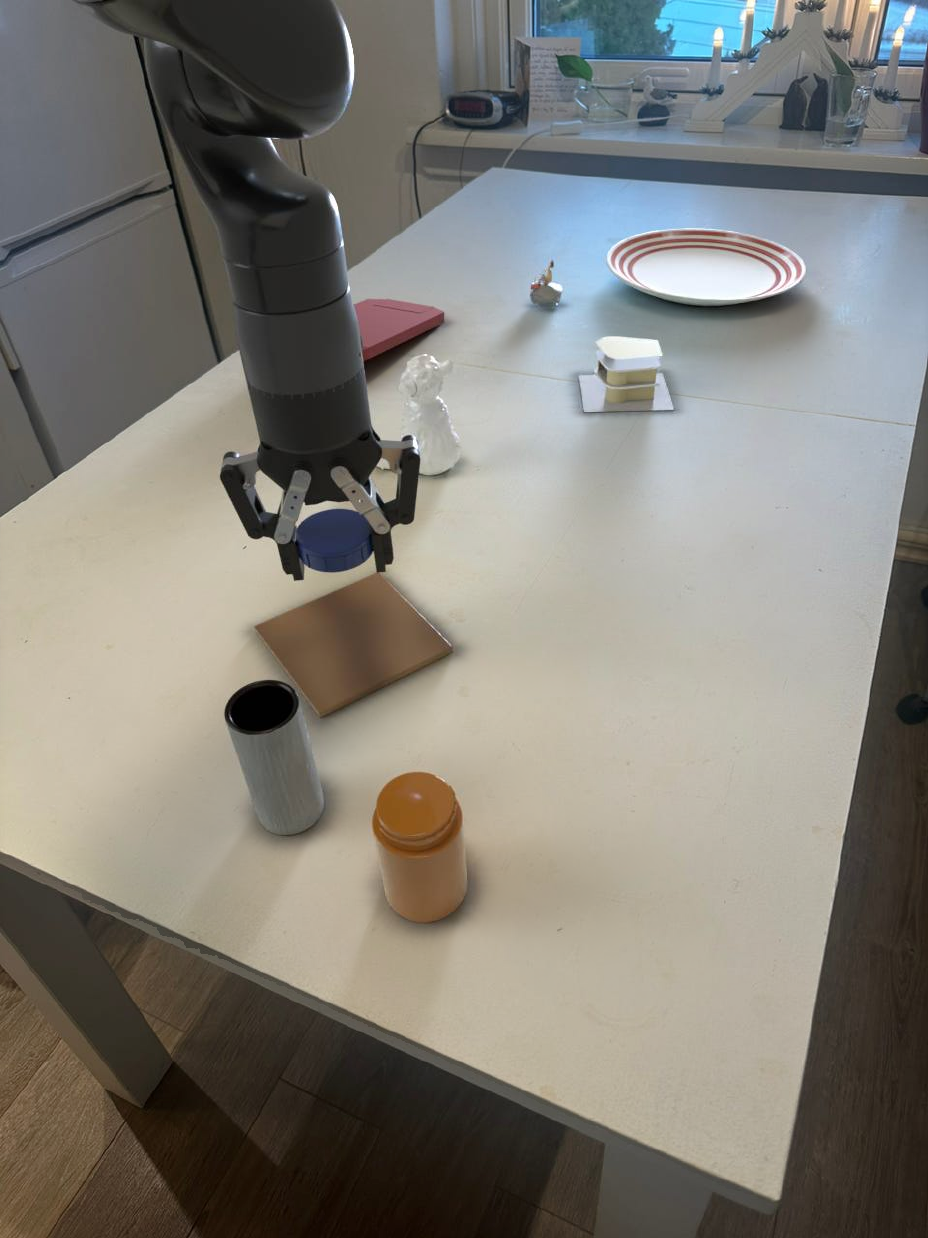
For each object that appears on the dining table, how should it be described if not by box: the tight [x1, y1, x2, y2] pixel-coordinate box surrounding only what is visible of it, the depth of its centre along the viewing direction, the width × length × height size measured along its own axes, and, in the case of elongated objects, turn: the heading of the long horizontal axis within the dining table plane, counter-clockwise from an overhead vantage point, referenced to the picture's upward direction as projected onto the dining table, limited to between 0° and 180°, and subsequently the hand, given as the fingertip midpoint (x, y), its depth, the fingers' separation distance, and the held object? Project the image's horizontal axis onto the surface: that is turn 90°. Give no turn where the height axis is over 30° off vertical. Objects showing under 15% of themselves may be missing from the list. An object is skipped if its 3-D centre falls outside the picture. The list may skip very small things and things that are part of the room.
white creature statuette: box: [376, 353, 462, 476], centre depth 88 cm, size 10×9×12 cm
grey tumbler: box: [223, 679, 325, 836], centre depth 56 cm, size 4×4×10 cm
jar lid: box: [296, 508, 374, 574], centre depth 65 cm, size 6×6×2 cm
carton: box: [353, 298, 445, 362], centre depth 112 cm, size 12×5×25 cm
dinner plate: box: [605, 228, 807, 307], centre depth 123 cm, size 27×27×3 cm
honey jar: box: [371, 771, 468, 923], centre depth 52 cm, size 5×5×8 cm
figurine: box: [529, 259, 563, 309], centre depth 119 cm, size 5×4×6 cm
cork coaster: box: [253, 572, 454, 718], centre depth 71 cm, size 12×12×1 cm
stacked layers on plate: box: [578, 335, 675, 413], centre depth 99 cm, size 10×9×6 cm
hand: (340, 569), depth 66 cm, fingers closed on jar lid, 5 cm apart
